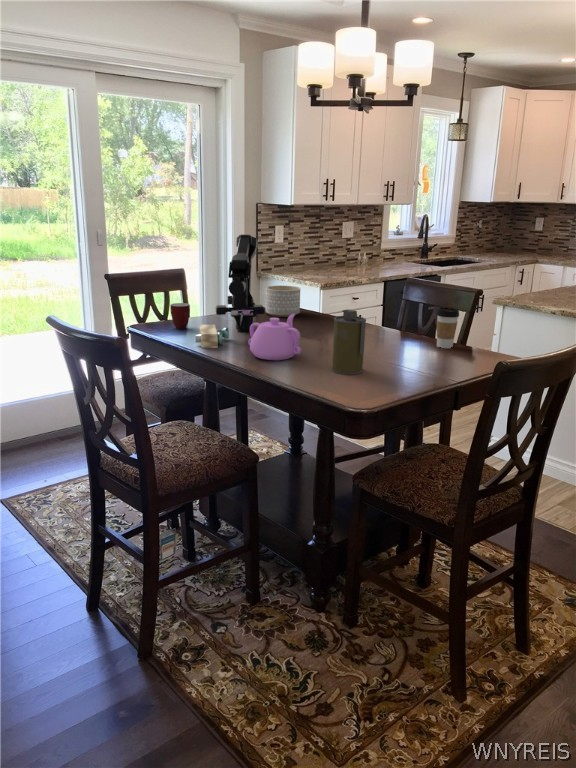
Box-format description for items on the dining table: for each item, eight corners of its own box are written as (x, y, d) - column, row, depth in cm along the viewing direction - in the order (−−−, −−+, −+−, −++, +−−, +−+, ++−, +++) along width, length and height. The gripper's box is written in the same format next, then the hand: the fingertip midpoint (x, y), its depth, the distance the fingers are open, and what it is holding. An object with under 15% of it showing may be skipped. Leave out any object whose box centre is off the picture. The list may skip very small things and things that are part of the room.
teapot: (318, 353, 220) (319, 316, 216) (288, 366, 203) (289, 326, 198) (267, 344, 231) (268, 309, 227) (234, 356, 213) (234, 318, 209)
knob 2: (227, 337, 239) (227, 326, 238) (228, 339, 235) (228, 329, 234) (207, 337, 238) (207, 327, 237) (208, 340, 234) (207, 329, 233)
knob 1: (221, 342, 231) (221, 331, 230) (222, 344, 227) (222, 333, 226) (195, 342, 229) (195, 331, 228) (195, 345, 225) (195, 334, 224)
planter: (284, 310, 301) (285, 284, 297) (306, 315, 289) (307, 288, 285) (258, 313, 291) (258, 287, 287) (280, 319, 279) (280, 291, 275)
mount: (214, 337, 241) (214, 324, 239) (217, 347, 225) (217, 334, 223) (199, 337, 240) (199, 324, 238) (201, 348, 224) (201, 334, 222)
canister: (325, 369, 200) (327, 310, 194) (345, 364, 207) (348, 306, 201) (350, 376, 193) (353, 315, 187) (370, 371, 200) (374, 311, 194)
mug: (197, 329, 254) (196, 305, 251) (180, 331, 249) (180, 308, 246) (183, 325, 261) (183, 302, 258) (167, 327, 256) (166, 304, 253)
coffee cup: (437, 343, 240) (441, 305, 235) (458, 346, 236) (462, 308, 231) (430, 347, 233) (434, 308, 228) (452, 350, 229) (456, 311, 224)
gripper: (261, 288, 242) (260, 326, 247) (214, 288, 238) (214, 327, 243) (265, 292, 231) (264, 332, 236) (216, 293, 228) (216, 333, 233)
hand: (240, 331), depth 237 cm, fingers closed
